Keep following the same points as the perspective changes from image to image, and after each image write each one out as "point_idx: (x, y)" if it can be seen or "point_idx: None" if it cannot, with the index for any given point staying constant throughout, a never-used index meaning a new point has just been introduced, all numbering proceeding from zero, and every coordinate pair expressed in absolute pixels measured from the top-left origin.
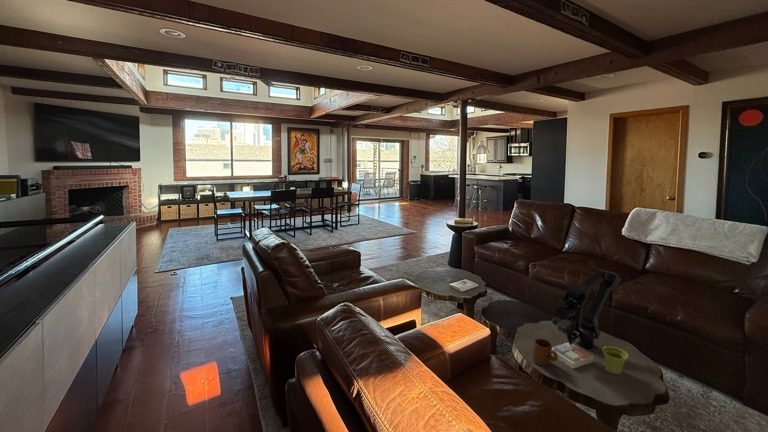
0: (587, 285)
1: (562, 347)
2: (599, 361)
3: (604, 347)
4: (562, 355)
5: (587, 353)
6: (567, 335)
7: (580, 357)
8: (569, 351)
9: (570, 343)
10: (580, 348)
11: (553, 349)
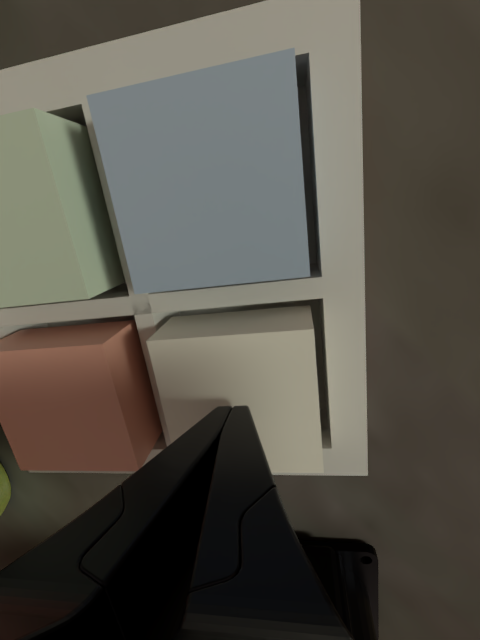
0: None
1: (217, 221)
2: (73, 482)
3: None
4: (86, 91)
5: (15, 450)
6: (263, 544)
7: (27, 334)
8: (171, 305)
9: (213, 419)
10: (132, 466)
11: (295, 54)
